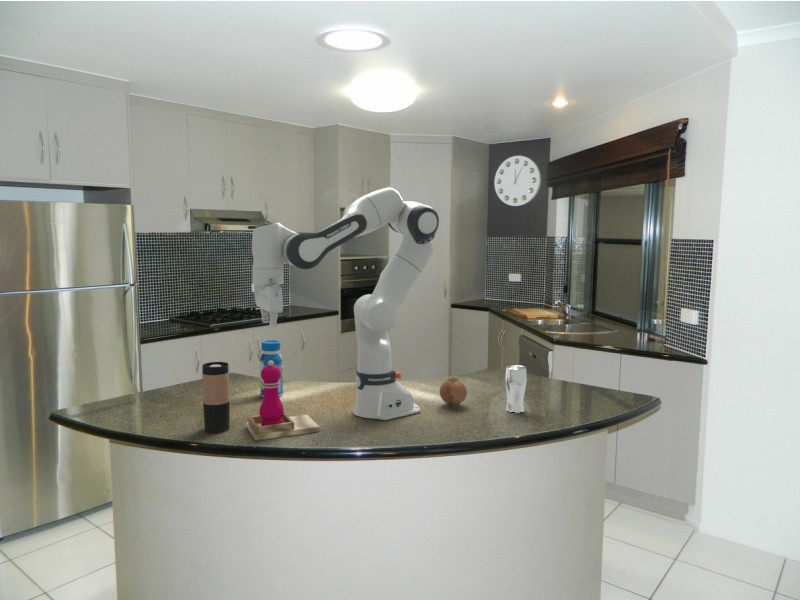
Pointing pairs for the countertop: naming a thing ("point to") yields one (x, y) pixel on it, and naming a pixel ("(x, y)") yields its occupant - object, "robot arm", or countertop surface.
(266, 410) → the pepper mill
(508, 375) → the beer glass
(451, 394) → the onion
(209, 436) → the countertop surface
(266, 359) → the beverage bottle
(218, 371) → the travel mug
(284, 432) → the mill holder
